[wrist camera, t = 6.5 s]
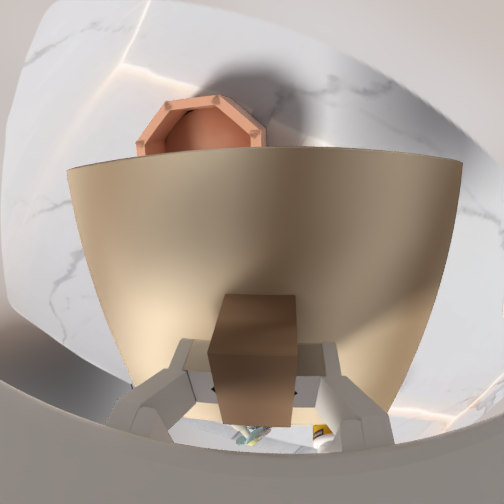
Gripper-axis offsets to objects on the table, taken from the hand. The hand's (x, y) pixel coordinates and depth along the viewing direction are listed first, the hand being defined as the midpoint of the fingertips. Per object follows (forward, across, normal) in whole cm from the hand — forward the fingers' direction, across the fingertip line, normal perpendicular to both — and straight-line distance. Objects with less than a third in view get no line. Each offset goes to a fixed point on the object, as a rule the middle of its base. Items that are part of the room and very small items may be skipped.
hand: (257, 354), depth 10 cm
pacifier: (+22, +2, +41) cm, 47 cm away
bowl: (+20, +6, -5) cm, 22 cm away
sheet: (+2, 0, 0) cm, 2 cm away
